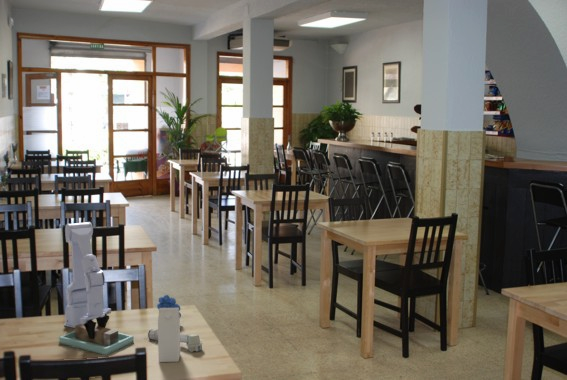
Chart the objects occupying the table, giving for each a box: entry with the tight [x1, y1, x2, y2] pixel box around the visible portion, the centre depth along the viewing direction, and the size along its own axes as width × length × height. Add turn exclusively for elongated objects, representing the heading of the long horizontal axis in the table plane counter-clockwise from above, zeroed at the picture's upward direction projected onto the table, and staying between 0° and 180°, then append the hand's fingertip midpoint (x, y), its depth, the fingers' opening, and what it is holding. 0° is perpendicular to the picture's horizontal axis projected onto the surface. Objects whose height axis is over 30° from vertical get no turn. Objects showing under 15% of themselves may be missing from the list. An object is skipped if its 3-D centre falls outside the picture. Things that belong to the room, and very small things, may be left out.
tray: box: [58, 330, 135, 356], centre depth 246 cm, size 24×15×2 cm, turn 62°
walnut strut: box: [74, 324, 119, 347], centre depth 245 cm, size 18×5×5 cm, turn 62°
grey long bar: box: [147, 328, 203, 353], centre depth 244 cm, size 5×7×25 cm
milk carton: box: [157, 308, 181, 363], centre depth 230 cm, size 7×7×19 cm
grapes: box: [156, 294, 182, 318], centre depth 267 cm, size 12×7×12 cm, turn 66°
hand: (96, 336), depth 245 cm, fingers closed on walnut strut, 4 cm apart
